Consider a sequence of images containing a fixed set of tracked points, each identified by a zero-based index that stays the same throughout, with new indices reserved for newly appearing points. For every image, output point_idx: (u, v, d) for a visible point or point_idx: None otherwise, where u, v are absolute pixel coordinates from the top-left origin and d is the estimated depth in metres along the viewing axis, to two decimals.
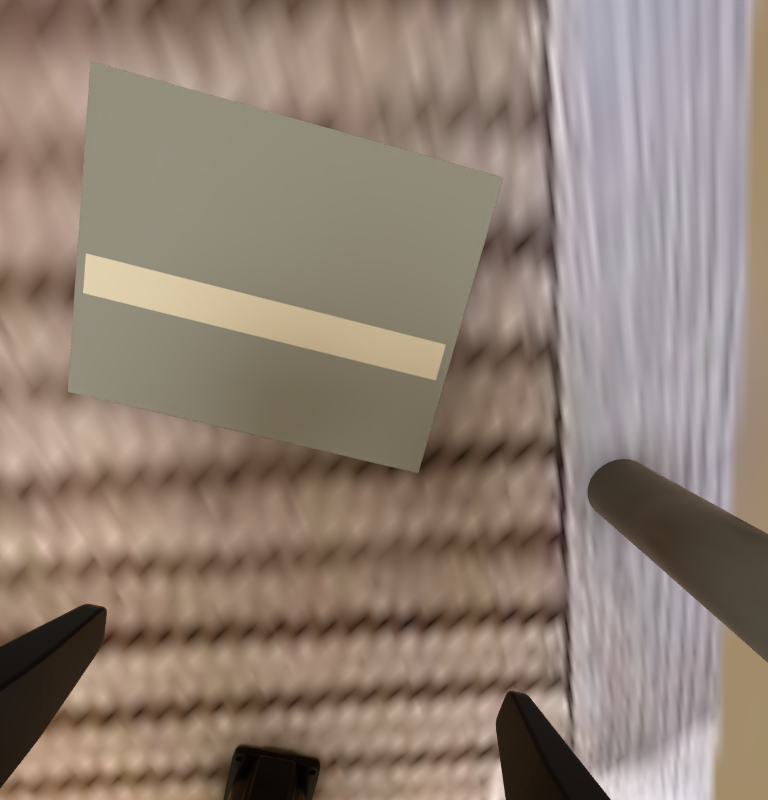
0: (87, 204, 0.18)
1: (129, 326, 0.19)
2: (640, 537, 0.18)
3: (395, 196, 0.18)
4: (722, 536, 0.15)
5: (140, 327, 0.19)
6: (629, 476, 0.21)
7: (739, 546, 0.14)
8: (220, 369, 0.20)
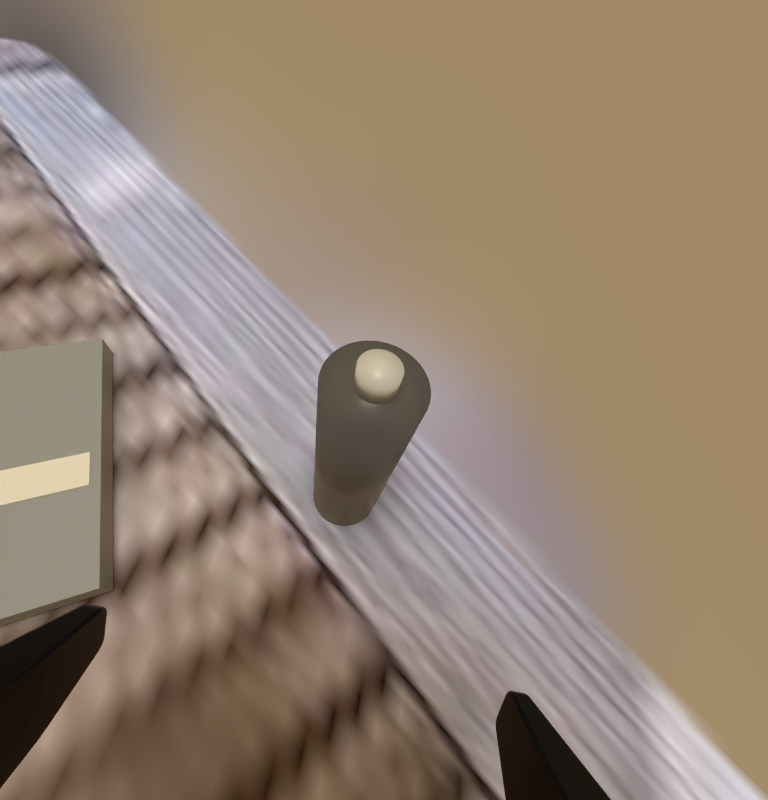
0: None
1: None
2: (322, 490, 0.19)
3: (7, 376, 0.22)
4: None
5: None
6: None
7: None
8: None
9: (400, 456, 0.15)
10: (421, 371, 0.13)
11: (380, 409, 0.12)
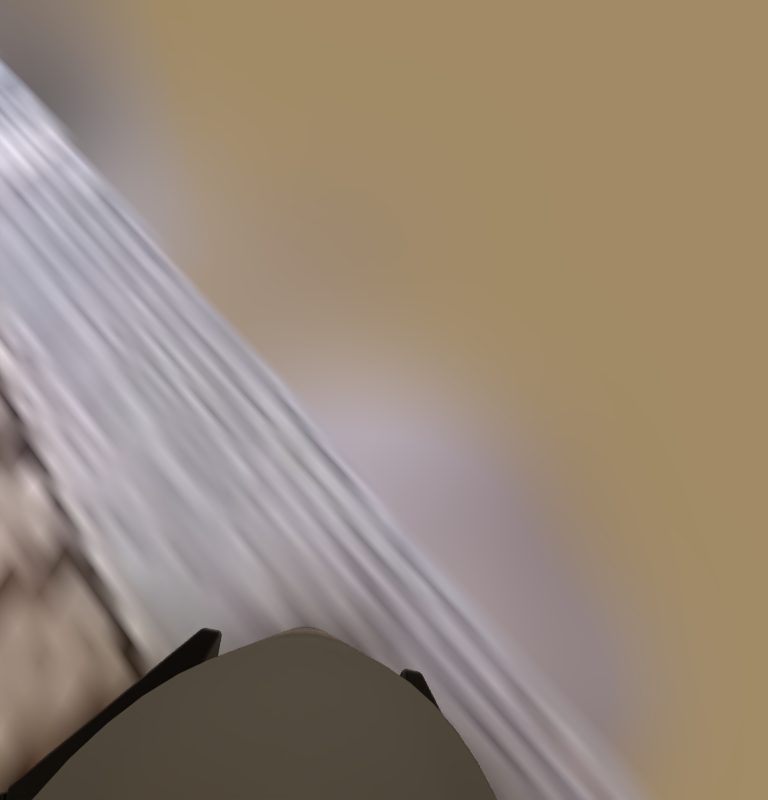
0: None
1: None
2: None
3: None
4: None
5: None
6: None
7: None
8: None
9: None
10: None
11: None
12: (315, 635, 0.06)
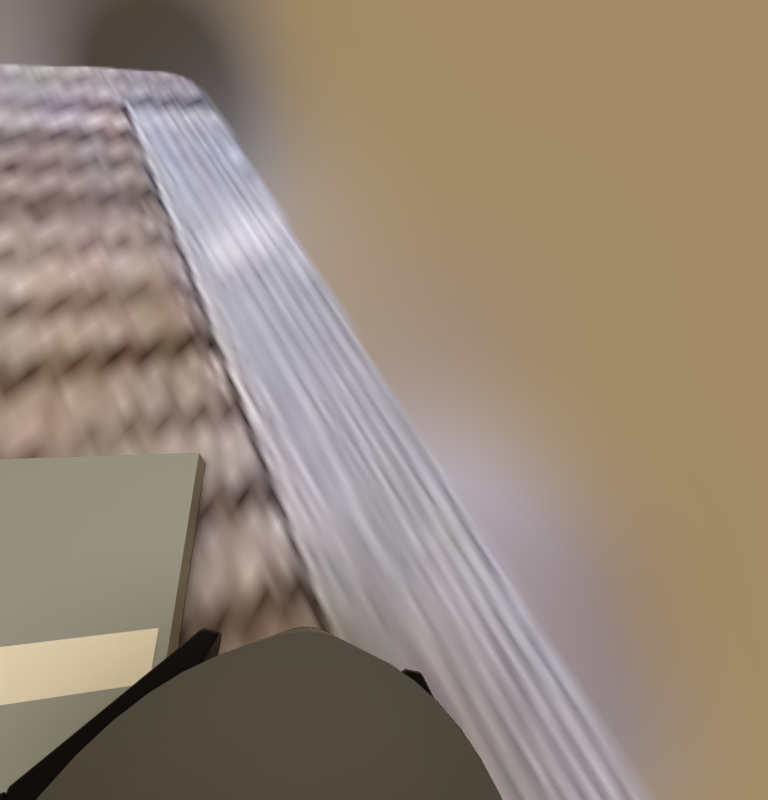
0: None
1: None
2: None
3: (89, 494, 0.19)
4: None
5: None
6: None
7: None
8: None
9: None
10: None
11: None
12: (318, 634, 0.06)
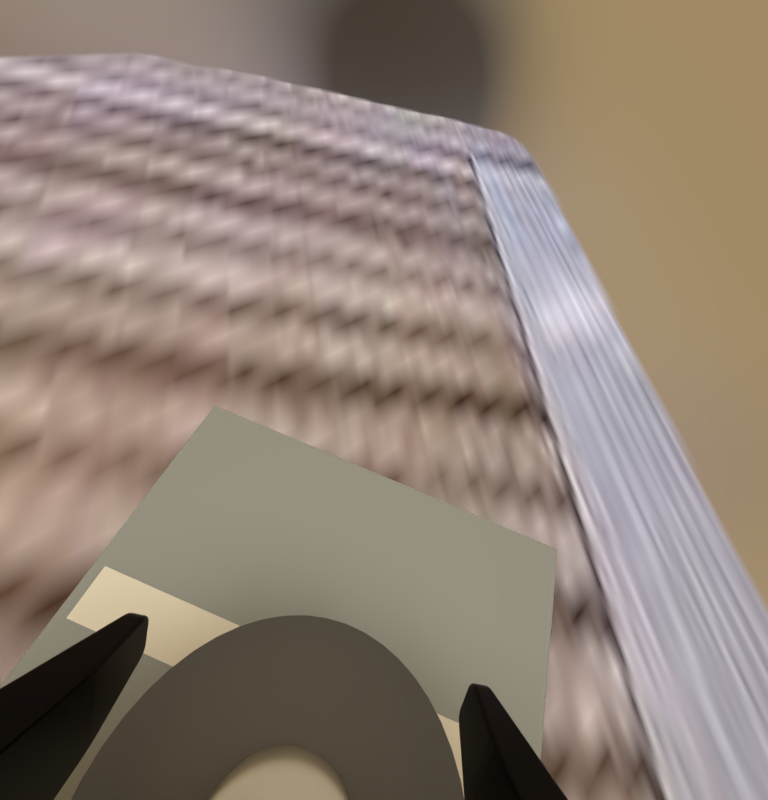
0: (141, 512, 0.17)
1: None
2: None
3: (461, 552, 0.18)
4: None
5: None
6: None
7: None
8: None
9: None
10: (437, 738, 0.04)
11: None
12: None
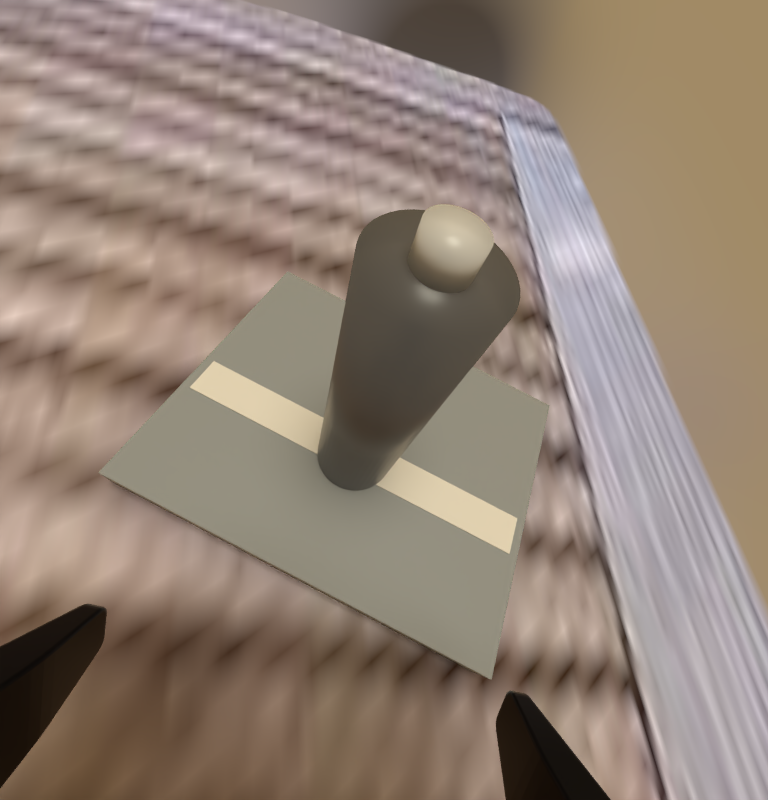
0: (236, 333, 0.22)
1: (216, 426, 0.19)
2: (333, 440, 0.15)
3: (476, 395, 0.23)
4: None
5: (227, 430, 0.19)
6: None
7: None
8: (291, 490, 0.18)
9: None
10: (505, 261, 0.09)
11: (449, 300, 0.08)
12: None
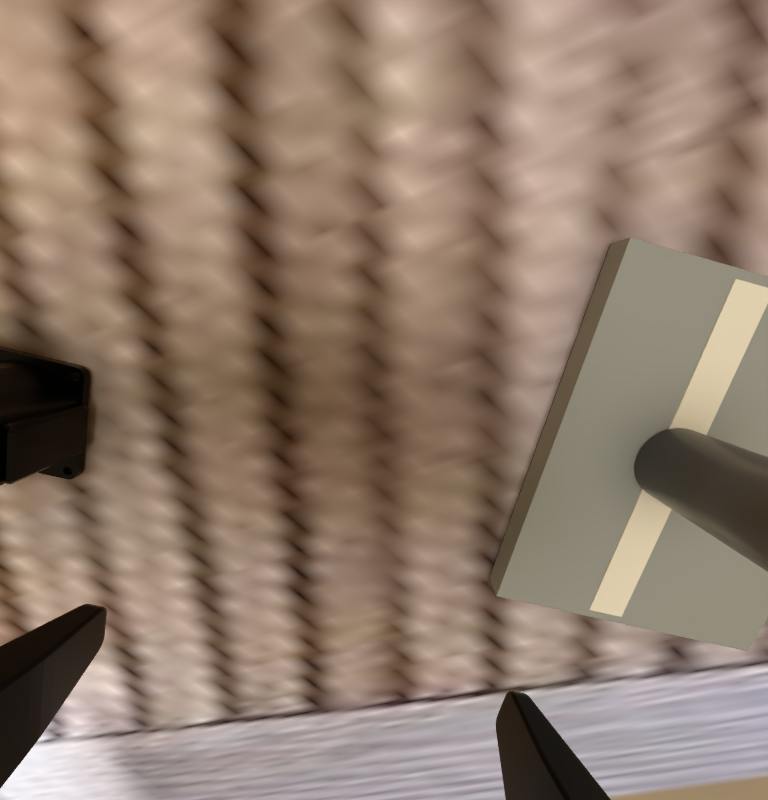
0: None
1: (690, 323, 0.18)
2: (736, 480, 0.14)
3: (753, 575, 0.21)
4: None
5: (686, 335, 0.18)
6: (729, 443, 0.17)
7: None
8: (629, 414, 0.19)
9: None
10: None
11: None
12: None
